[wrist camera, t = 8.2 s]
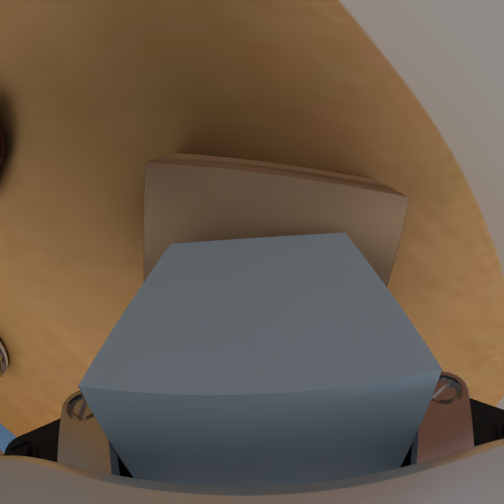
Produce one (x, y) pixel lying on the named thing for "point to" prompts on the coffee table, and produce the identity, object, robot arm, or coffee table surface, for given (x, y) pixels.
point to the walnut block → (266, 206)
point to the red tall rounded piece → (2, 145)
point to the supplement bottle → (3, 359)
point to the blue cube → (261, 367)
